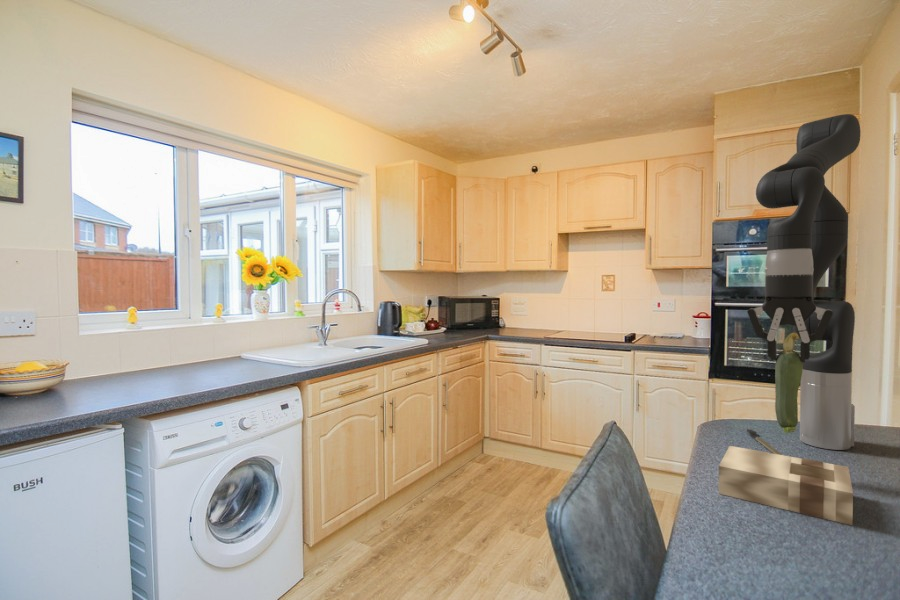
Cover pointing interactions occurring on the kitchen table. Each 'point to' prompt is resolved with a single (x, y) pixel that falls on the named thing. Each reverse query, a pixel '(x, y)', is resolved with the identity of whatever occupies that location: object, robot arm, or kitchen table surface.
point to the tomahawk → (762, 442)
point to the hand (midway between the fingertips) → (787, 360)
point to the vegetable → (787, 384)
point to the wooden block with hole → (788, 483)
